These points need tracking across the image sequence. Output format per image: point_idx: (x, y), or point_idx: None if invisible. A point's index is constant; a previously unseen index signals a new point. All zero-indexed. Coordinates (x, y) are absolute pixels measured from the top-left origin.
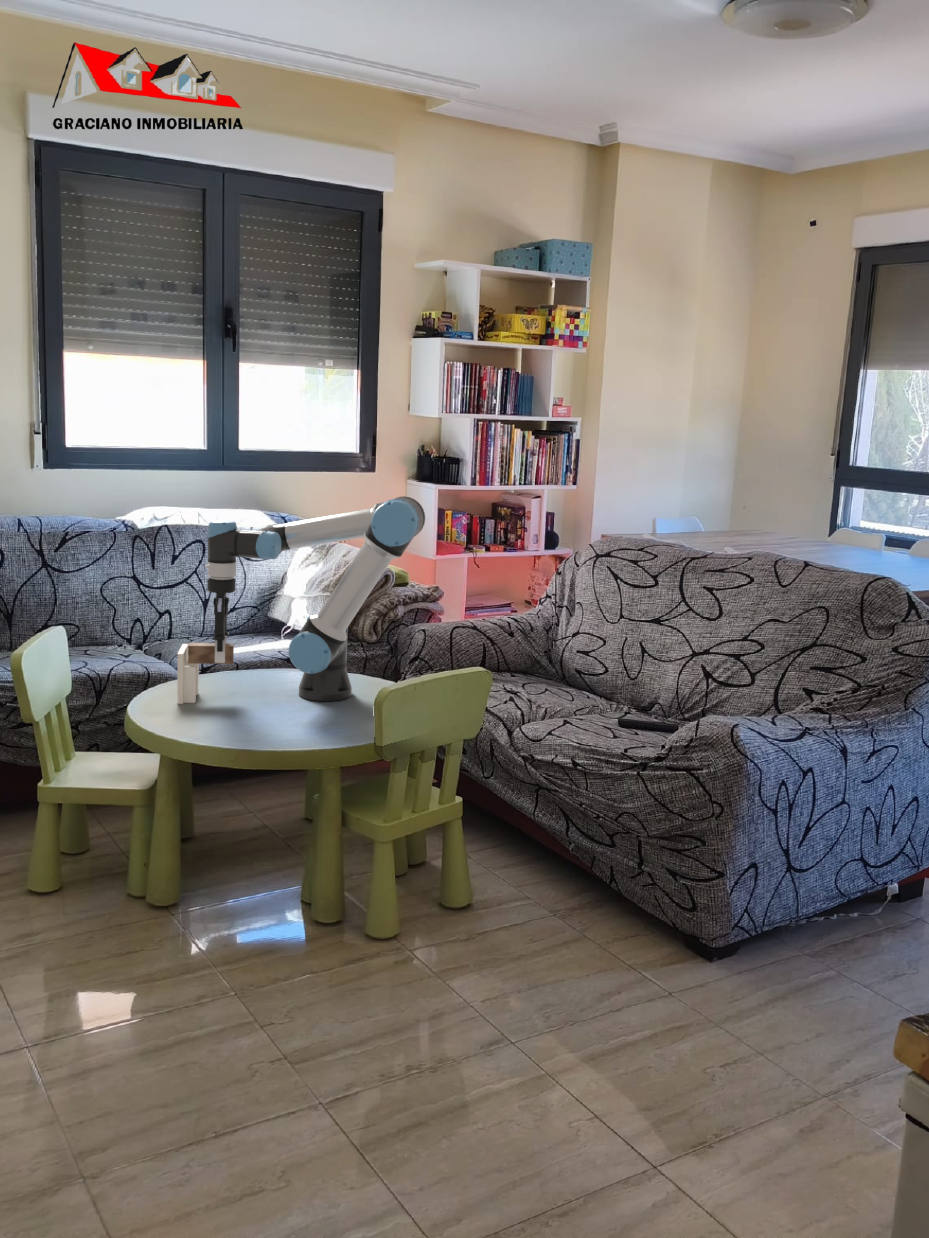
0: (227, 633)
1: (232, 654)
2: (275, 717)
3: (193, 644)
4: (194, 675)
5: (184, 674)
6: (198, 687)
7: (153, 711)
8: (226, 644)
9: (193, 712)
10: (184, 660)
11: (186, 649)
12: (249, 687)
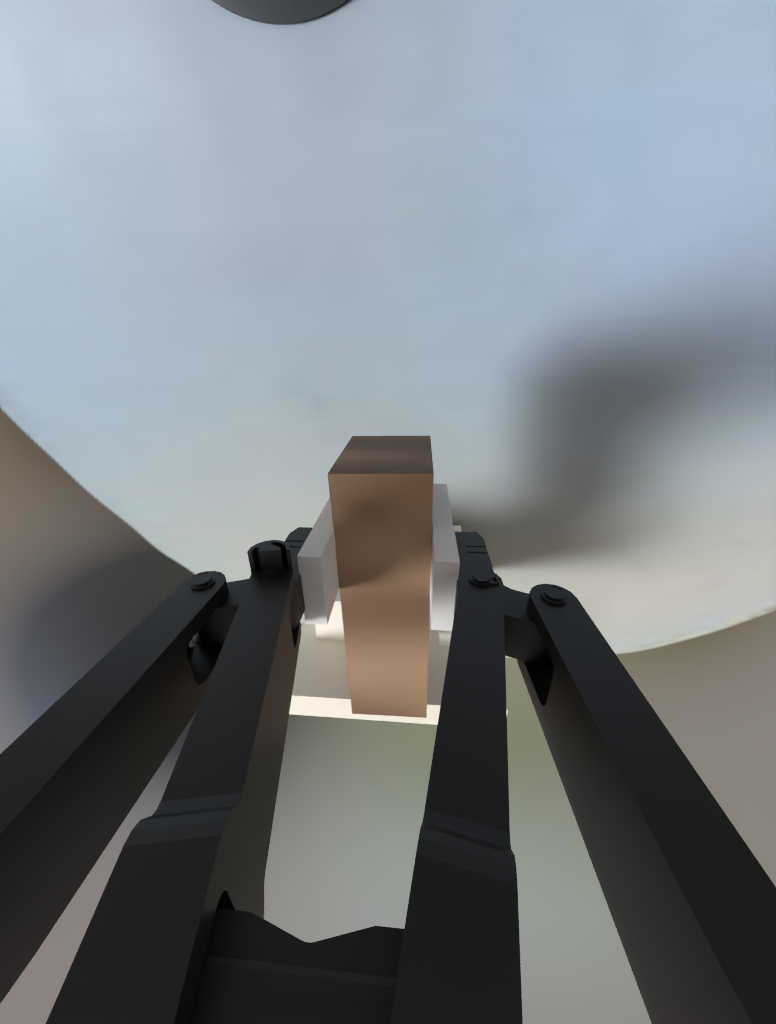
0: (279, 560)
1: (430, 456)
2: (729, 158)
3: (392, 697)
4: None
5: None
6: None
7: None
8: (370, 524)
9: (570, 521)
10: (443, 664)
11: None
12: (216, 339)
